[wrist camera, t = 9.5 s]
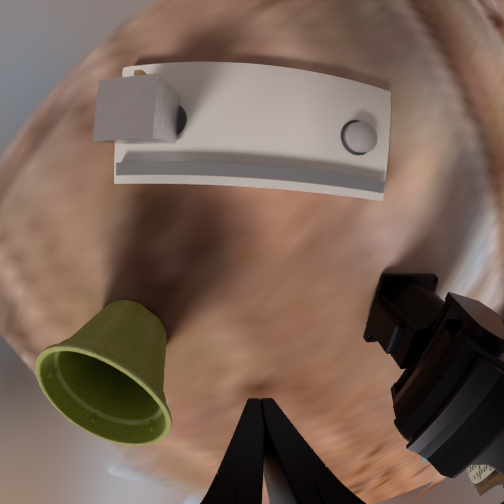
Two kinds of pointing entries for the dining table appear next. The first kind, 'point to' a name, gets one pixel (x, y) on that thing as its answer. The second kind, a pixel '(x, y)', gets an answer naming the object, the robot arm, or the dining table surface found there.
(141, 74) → the slider
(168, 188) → the dining table surface
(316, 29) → the dining table surface
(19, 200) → the dining table surface
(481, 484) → the wooden container
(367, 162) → the plate
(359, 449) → the dining table surface
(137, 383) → the plant pot
